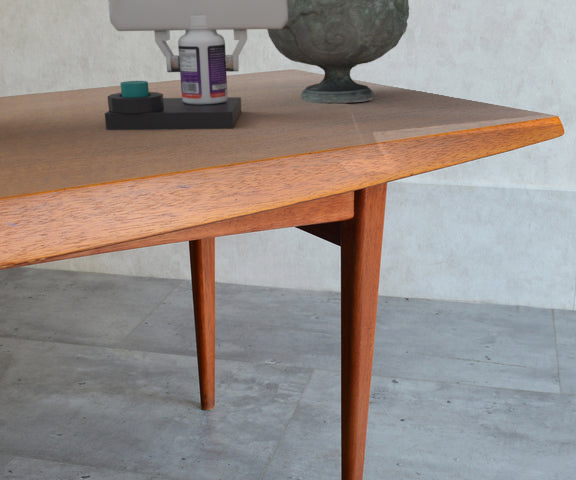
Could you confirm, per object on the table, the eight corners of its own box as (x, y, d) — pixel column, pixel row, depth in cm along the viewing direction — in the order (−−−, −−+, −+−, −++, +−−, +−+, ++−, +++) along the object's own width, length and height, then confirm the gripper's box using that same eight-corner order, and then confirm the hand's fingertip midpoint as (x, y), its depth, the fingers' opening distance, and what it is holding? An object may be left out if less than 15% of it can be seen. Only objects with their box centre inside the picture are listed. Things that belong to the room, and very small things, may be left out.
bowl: (359, 87, 115) (361, -17, 109) (433, 101, 98) (440, -20, 93) (242, 95, 107) (238, -16, 101) (301, 113, 91) (300, -19, 85)
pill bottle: (224, 98, 90) (220, 13, 87) (230, 104, 85) (227, 15, 82) (180, 100, 89) (174, 14, 86) (183, 106, 84) (178, 15, 81)
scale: (105, 131, 81) (101, 98, 79) (130, 114, 92) (127, 85, 91) (232, 130, 80) (231, 97, 79) (241, 112, 92) (240, 83, 90)
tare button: (119, 100, 81) (117, 83, 80) (125, 96, 83) (123, 80, 83) (146, 100, 81) (144, 83, 80) (151, 96, 83) (150, 80, 83)
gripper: (290, -59, 84) (292, 67, 89) (112, -56, 84) (123, 70, 89) (290, -63, 78) (291, 73, 83) (98, -60, 78) (111, 75, 83)
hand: (203, 71), depth 86 cm, fingers closed on pill bottle, 5 cm apart
